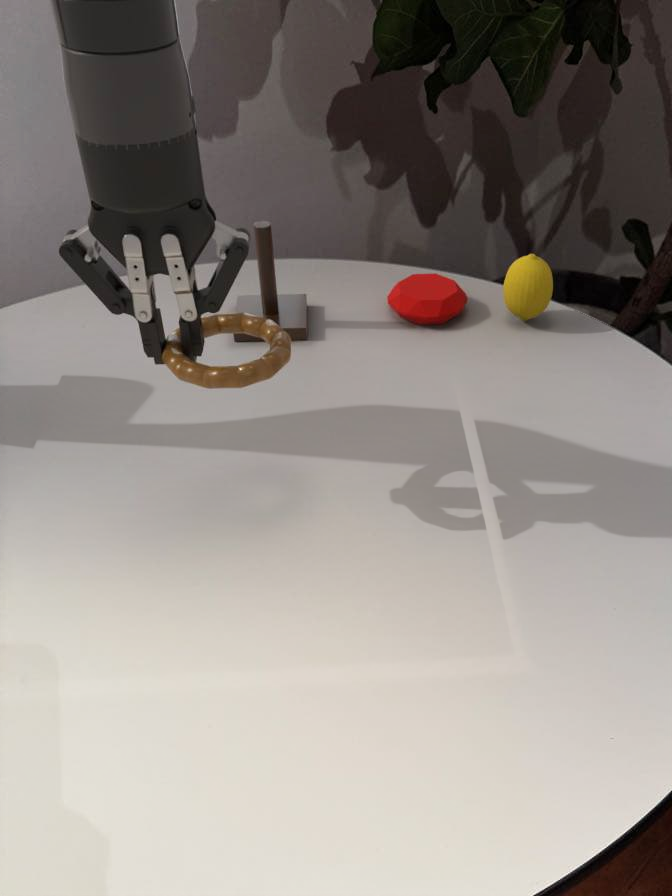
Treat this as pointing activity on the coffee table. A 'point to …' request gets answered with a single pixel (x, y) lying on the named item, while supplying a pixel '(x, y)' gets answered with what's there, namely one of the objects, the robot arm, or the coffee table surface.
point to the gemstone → (427, 298)
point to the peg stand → (272, 294)
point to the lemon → (528, 287)
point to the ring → (230, 374)
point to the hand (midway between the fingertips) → (177, 358)
